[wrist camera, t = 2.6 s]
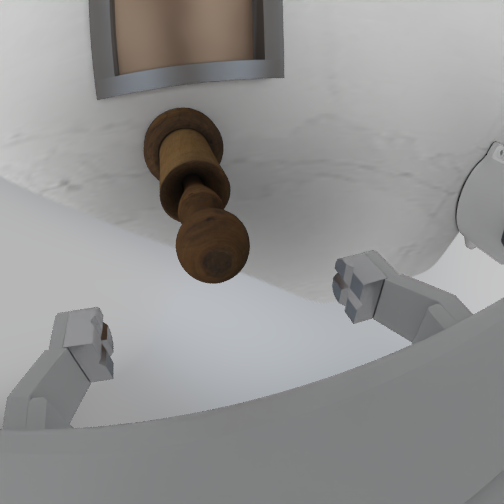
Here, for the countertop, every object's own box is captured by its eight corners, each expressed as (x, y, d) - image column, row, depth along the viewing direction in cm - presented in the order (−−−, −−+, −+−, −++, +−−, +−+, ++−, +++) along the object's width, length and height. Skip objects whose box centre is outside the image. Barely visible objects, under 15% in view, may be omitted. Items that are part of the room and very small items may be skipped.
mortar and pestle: (129, 151, 25) (97, 282, 11) (177, 92, 24) (210, 141, 9) (186, 192, 29) (226, 344, 15) (234, 139, 27) (331, 247, 13)
